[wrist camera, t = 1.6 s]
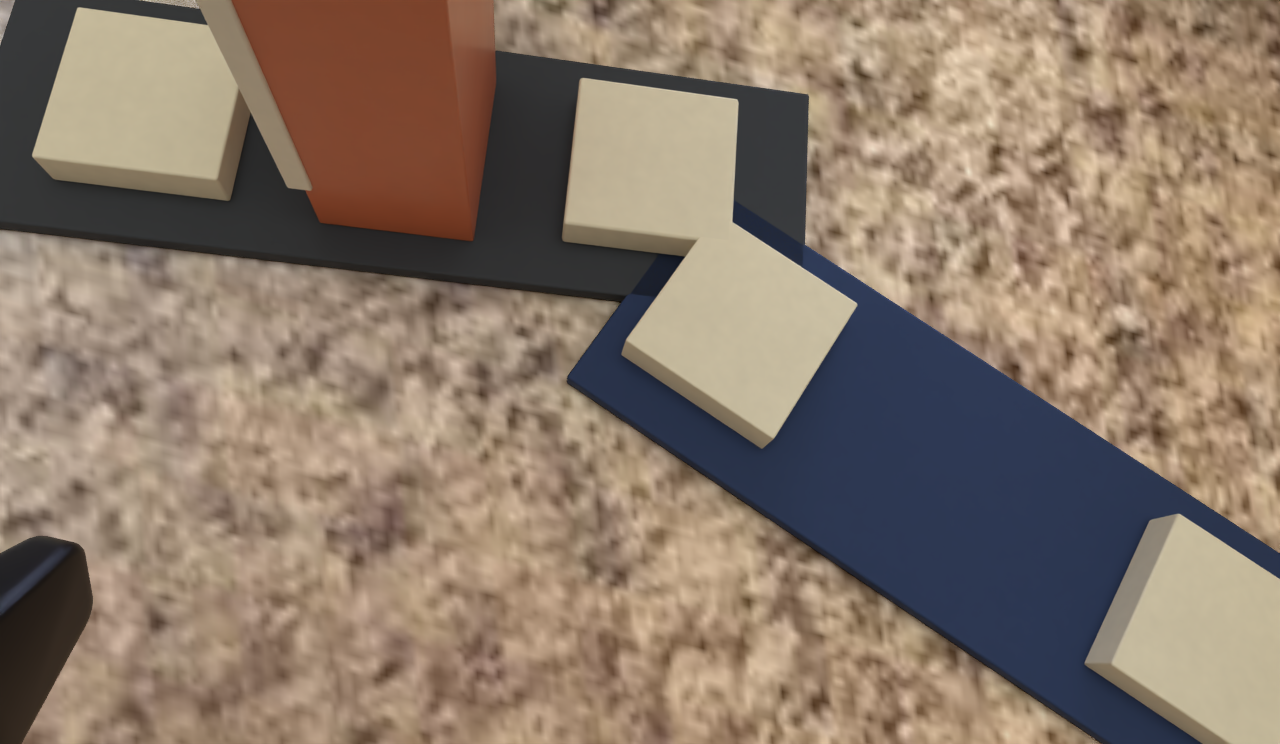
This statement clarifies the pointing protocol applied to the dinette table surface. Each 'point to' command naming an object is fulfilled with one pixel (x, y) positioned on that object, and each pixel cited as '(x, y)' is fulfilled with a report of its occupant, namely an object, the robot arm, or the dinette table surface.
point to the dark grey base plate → (290, 230)
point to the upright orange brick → (369, 103)
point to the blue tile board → (949, 490)
